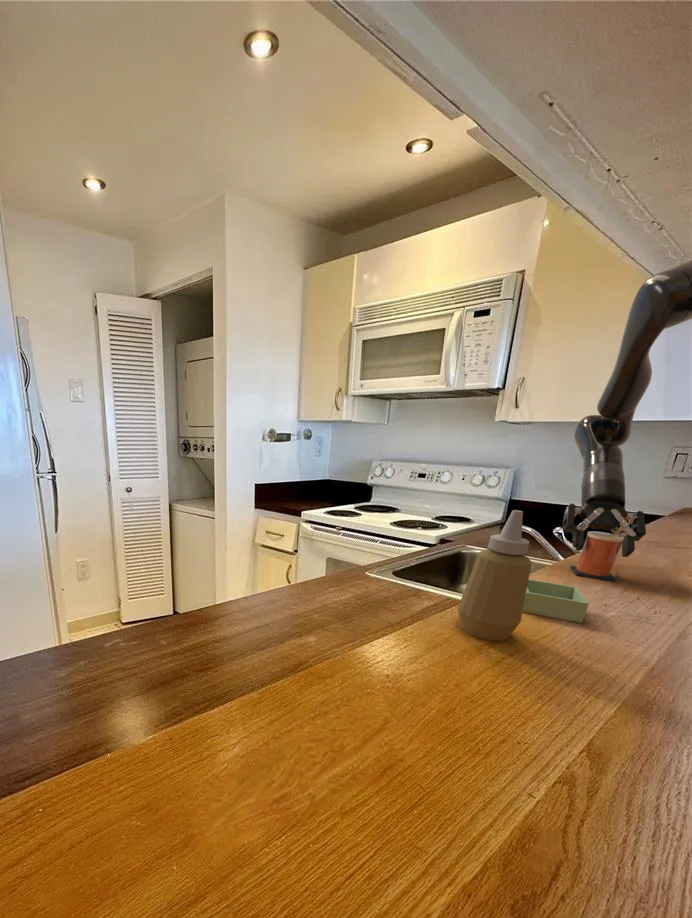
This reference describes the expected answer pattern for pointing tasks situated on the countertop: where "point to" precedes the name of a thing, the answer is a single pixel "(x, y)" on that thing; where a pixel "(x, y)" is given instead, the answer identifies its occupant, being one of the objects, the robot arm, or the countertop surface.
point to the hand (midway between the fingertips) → (603, 551)
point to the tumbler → (599, 553)
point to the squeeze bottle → (497, 584)
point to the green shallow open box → (555, 600)
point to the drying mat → (578, 573)
